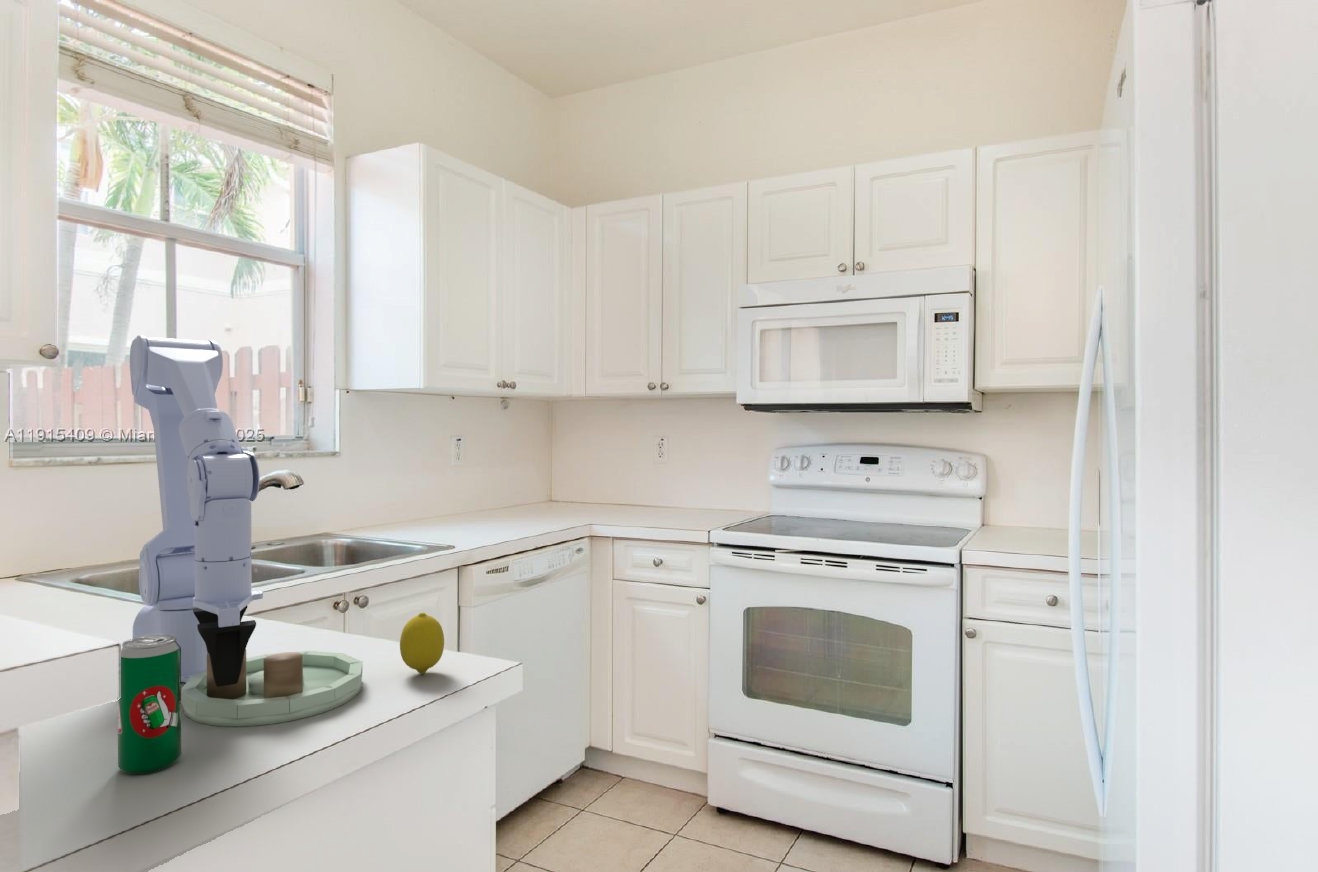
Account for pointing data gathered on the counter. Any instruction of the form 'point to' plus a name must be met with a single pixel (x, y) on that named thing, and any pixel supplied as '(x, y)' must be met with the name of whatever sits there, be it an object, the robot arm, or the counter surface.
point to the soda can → (149, 704)
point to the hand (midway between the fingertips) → (223, 674)
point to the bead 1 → (228, 690)
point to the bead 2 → (283, 674)
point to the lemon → (422, 642)
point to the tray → (323, 690)
